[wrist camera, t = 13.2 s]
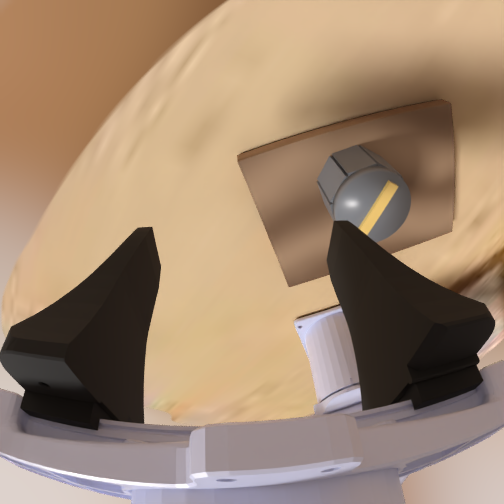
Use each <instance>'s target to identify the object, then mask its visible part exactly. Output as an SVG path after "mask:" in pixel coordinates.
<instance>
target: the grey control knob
mask: <svg viewBox="0 0 504 504" xmlns="http://www.w3.org/2000/svg"><path fill="white" fill-rule="evenodd" d="M332 156H333V157H331V156H329V157H328V159H327V161H326V163H325V165H324V167H323V169H322V171H321V173H320V174H319V176H318V178H317V180H318V181H317V184H318V187H319V189H320V192H321V195H322V198H323V201H324V204H325V206H326V208H327V210H328V212H329V214H330V215H331V217H332V219H333V221H341V220H348V221H349V222H351V223H352V224H354V225H355V226H356V227H357V228H359V229H360V230H361V231H362V232H364V233H365V234H366V235H367V236H368V237H370V238H371V239H372V240H373V241H375V242H379V241H382V240H384V239H386V238H388V237H390V236H391V235H392V234H394V233H395V232H396V231H397V230H398V229H399V228H400V227H401V226H402V224H403V223H404V222H405V220H406V218H407V216H408V214H409V211H410V207H411V194H410V191H409V188H408V186H407V184H406V183H405V182H404V180H403V177H402V175H401V174H400V173H399V172H397V171H396V170H395V169H394V168H393V167H392V166H391V165H390V164H389V163H388V162H387V161H386V160H384V159H383V158H382V157H381V156H380V155H378V154H376V153H374V152H372V151H370V150H368V149H367V148H365V147H363V146H361V145H359V146H358V145H355V146H352V147H349V148H346V149H343V150H341V151H338V152H335V153H332Z"/></svg>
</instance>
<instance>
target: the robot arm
mask: <svg viewBox="0 0 504 504" xmlns="http://www.w3.org/2000/svg"><path fill="white" fill-rule="evenodd" d="M326 261H327V265H328V270H329V274H330V278H331V282H332V284H333V287H334V290H335V292H336V295H337V298H338V300H339V303H340V306H338V307H335V308H331V309H328V310H325V311H322V312H319V313H315V314H312V315H309V316H306V317H302V318H299V319H296V320H295V321H294V325H295V328H296V330H297V332H298V335H299V337H300V339H301V342H302V344H303V346H304V349H305V351H306V353H307V356H308V358H309V362H310V366H311V371H312V376H313V381H314V386H315V391H316V396H317V401H318V404H315V405H314V412H315V414H314V415H311V416H309V417H299V418H290V419H280V420H268V421H254V422H232V423H219V424H209V425H205V426H167V425H152V424H144V367H145V354H146V343H147V337H148V331H149V327H150V322H151V318H152V314H153V310H154V305H155V301H156V297H157V293H158V289H159V281H160V272H161V264H160V260H159V256H158V251H157V247H156V242H155V238H154V233H153V228H152V227H142V228H137V229H136V230H135V231H134V232H133V233H132V234H131V235H130V236H129V237H128V238H127V239H126V240H125V241H124V242H123V243H122V244H121V245H120V246H119V247H118V248H117V249H116V250H115V252H114V253H113V254H112V255H111V256H110V257H109V258H108V259H107V260H106V261H105V262H103V263H102V264H101V265H100V266H99V267H98V268H97V269H96V270H95V271H94V272H93V273H92V274H91V275H90V276H89V277H88V278H86V279H85V280H84V281H83V282H82V283H80V284H79V285H78V286H77V287H75V288H74V289H73V290H71V291H70V292H69V293H67V294H66V295H65V296H63V297H62V298H60V299H59V300H58V301H56V302H55V303H53V304H52V305H50V306H48V307H47V308H45V309H44V310H42V311H40V312H39V313H37V314H35V315H33V316H31V317H29V318H27V319H26V320H24V321H22V322H20V323H18V324H16V325H14V326H11V328H10V331H9V333H8V335H7V337H6V340H5V342H4V344H3V347H2V349H1V352H0V361H1V363H2V365H3V367H4V368H5V370H6V371H7V372H8V373H9V374H10V375H11V376H12V377H13V378H14V379H15V380H16V381H17V382H18V383H19V384H20V385H21V386H22V387H23V388H24V389H25V393H24V396H23V397H22V396H21V395H19V394H17V393H14V392H10V391H7V390H4V389H0V457H2V458H4V459H5V460H7V461H9V462H11V463H13V464H15V465H16V466H18V467H20V468H23V469H26V470H28V471H31V472H34V473H36V474H39V475H42V476H45V477H47V478H50V479H53V480H56V481H59V482H62V483H65V484H69V485H72V486H75V487H79V488H82V489H86V490H90V491H93V492H97V493H102V494H106V495H110V496H115V497H120V498H125V499H130V500H131V504H405V499H404V495H403V491H402V486H401V485H402V483H403V482H404V481H405V479H406V478H407V477H408V476H409V474H411V473H414V472H416V471H419V470H421V469H424V468H426V467H429V466H431V465H433V464H436V463H438V462H440V461H443V460H445V459H447V458H449V457H451V456H453V455H456V454H457V453H460V452H461V451H464V450H466V449H468V448H470V447H472V446H474V445H475V444H478V443H479V442H481V441H483V440H485V439H487V438H489V437H490V436H491V435H493V434H495V433H496V432H497V431H499V430H500V429H502V428H503V427H504V361H503V360H501V361H498V362H496V363H494V364H491V365H488V366H486V367H484V368H483V369H481V370H480V371H479V370H478V368H477V364H478V363H479V358H478V356H477V352H478V351H479V350H480V349H481V348H482V346H483V345H484V344H485V342H486V341H487V340H488V339H489V337H490V336H491V334H492V332H493V330H494V327H495V320H494V318H493V317H492V315H491V313H490V312H489V310H488V308H487V307H486V305H485V304H484V303H481V302H478V301H476V300H473V299H470V298H467V297H464V296H462V295H460V294H457V293H455V292H453V291H451V290H448V289H446V288H444V287H442V286H440V285H438V284H436V283H435V282H433V281H431V280H429V279H427V278H426V277H424V276H422V275H420V274H419V273H417V272H416V271H414V270H413V269H411V268H409V267H408V266H406V265H405V264H403V263H402V262H401V261H399V260H398V259H397V258H395V257H394V256H392V255H391V254H390V253H388V252H387V251H386V250H385V249H383V248H382V247H381V246H380V245H378V244H377V243H376V242H375V241H373V240H372V239H371V238H370V237H368V236H367V235H366V234H365V233H364V232H362V231H361V230H360V229H359V228H357V227H356V226H355V225H354V224H352V223H351V222H349V221H348V220H341V221H334V222H333V228H332V233H331V239H330V244H329V249H328V255H327V260H326Z"/></svg>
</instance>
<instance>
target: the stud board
mask: <svg viewBox="0 0 504 504" xmlns="http://www.w3.org/2000/svg"><path fill="white" fill-rule="evenodd" d="M355 145H358V146H359V145H361V146H363V147H365V148H367V149H368V150H370V151H372V152H374V153H376V154H378V155H380V156H381V157H382V158H383V159H384V160H386V161H387V162H388V163H389V164H390V165H391V166H392V167H393V168H394V169H395V170H396V171H397V172H399V173H400V174H401V175H402V177H403V180H404V182H405V183H406V184H407V186H408V188H409V191H410V194H411V207H410V211H409V214H408V216H407V218H406V220H405V222H404V223H403V224H402V226H401V227H400V228H399V229H398V230H397V231H396V232H395V233H394V234H392V235H391V236H390V237H388V238H386V239H384V240H382V241H379V242H376V243H377V244H378V245H380V246H381V247H382V248H383V249H385V250H386V251H387V252H388V253H390V254H392V253H395V252H398V251H400V250H403V249H406V248H409V247H412V246H414V245H417V244H420V243H423V242H425V241H428V240H431V239H433V238H436V237H439V236H442V235H444V234H447V233H449V232H452V226H453V211H454V184H455V162H454V135H453V120H452V109H451V103H449V102H447V101H444V100H442V99H441V100H435V101H430V102H425V103H420V104H415V105H410V106H405V107H401V108H396V109H392V110H387V111H383V112H379V113H375V114H370V115H366V116H363V117H359V118H355V119H351V120H347V121H344V122H340V123H336V124H333V125H329V126H326V127H322V128H319V129H315V130H312V131H309V132H305V133H302V134H299V135H296V136H293V137H289V138H286V139H283V140H280V141H277V142H274V143H271V144H268V145H265V146H262V147H259V148H256V149H254V150H251V151H248V152H245V153H242V154H240V155H237V158H238V164H239V166H240V168H241V171H242V173H243V176H244V178H245V180H246V183H247V185H248V187H249V190H250V192H251V195H252V197H253V200H254V202H255V204H256V207H257V209H258V212H259V214H260V217H261V219H262V221H263V224H264V226H265V229H266V231H267V234H268V236H269V239H270V241H271V244H272V246H273V249H274V251H275V253H276V256H277V258H278V261H279V263H280V266H281V268H282V271H283V273H284V276H285V279H286V281H287V284H288V286H289V287H292V286H295V285H298V284H301V283H305V282H308V281H311V280H314V279H317V278H320V277H324V276H327V275H330V274H329V270H328V265H327V261H326V260H327V255H328V249H329V244H330V239H331V233H332V228H333V222H334V221H333V219H332V217H331V215H330V214H329V212H328V210H327V208H326V206H325V204H324V201H323V198H322V195H321V192H320V189H319V187H318V184H317V181H318V180H317V178H318V176H319V174H320V173H321V171H322V169H323V167H324V165H325V163H326V161H327V159H328V157H329V156H331V157H333V156H332V153H335V152H338V151H341V150H343V149H346V148H349V147H352V146H355Z"/></svg>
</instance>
